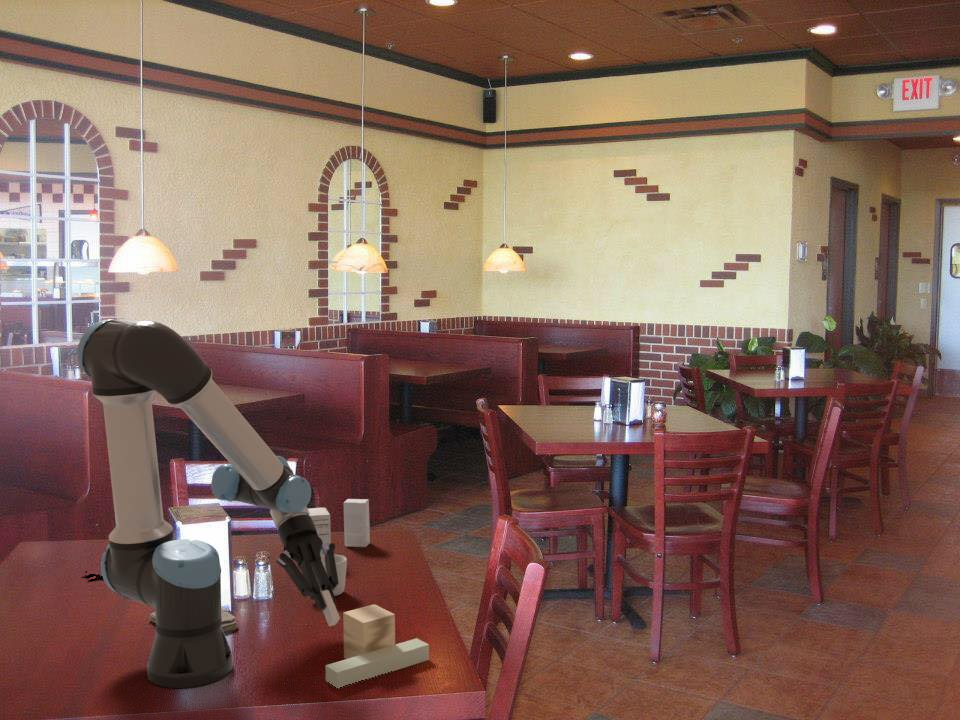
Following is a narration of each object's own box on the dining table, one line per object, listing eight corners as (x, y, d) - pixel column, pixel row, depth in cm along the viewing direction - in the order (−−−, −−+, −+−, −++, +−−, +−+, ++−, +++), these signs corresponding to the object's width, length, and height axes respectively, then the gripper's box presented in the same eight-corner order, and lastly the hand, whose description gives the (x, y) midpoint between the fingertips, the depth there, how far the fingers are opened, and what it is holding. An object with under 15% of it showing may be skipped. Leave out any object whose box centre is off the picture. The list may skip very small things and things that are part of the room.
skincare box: (370, 543, 263) (369, 499, 262) (366, 547, 259) (365, 503, 258) (348, 542, 264) (347, 498, 263) (343, 546, 260) (343, 502, 258)
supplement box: (298, 557, 251) (297, 508, 249) (327, 554, 253) (326, 506, 251) (301, 566, 244) (300, 516, 242) (331, 563, 246) (330, 513, 244)
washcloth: (190, 646, 195) (190, 631, 194) (146, 623, 207) (145, 609, 207) (242, 630, 203) (242, 615, 203) (197, 608, 215) (196, 595, 215)
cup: (320, 605, 216) (319, 570, 215) (295, 598, 221) (294, 563, 220) (354, 592, 224) (354, 558, 224) (330, 585, 229) (329, 551, 228)
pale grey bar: (337, 688, 174) (336, 672, 174) (325, 681, 177) (325, 665, 177) (428, 659, 187) (428, 644, 186) (416, 653, 190) (416, 638, 190)
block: (364, 670, 182) (363, 623, 181) (344, 658, 188) (343, 612, 187) (395, 660, 187) (394, 614, 186) (374, 648, 192) (374, 604, 191)
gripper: (315, 527, 214) (356, 623, 203) (260, 537, 206) (299, 638, 195) (327, 508, 209) (369, 606, 198) (270, 518, 202) (311, 620, 190)
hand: (334, 622), depth 197 cm, fingers closed
